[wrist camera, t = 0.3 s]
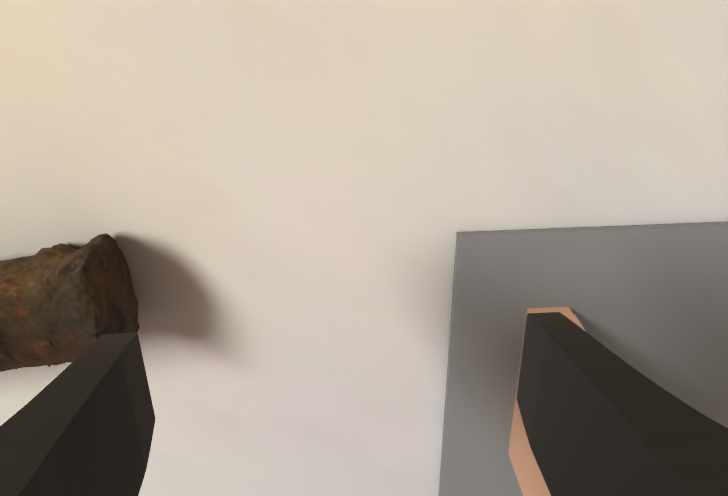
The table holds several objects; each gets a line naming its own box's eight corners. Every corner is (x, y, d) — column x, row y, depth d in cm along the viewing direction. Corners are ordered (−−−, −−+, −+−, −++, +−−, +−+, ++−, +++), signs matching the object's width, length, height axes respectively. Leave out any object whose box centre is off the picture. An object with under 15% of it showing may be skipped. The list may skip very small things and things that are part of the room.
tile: (549, 450, 27) (647, 682, 19) (508, 452, 27) (590, 687, 19) (574, 306, 24) (706, 516, 16) (527, 308, 24) (637, 520, 16)
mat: (753, 482, 29) (757, 488, 29) (438, 502, 28) (439, 508, 28) (856, 216, 23) (862, 220, 23) (457, 232, 22) (458, 236, 22)
